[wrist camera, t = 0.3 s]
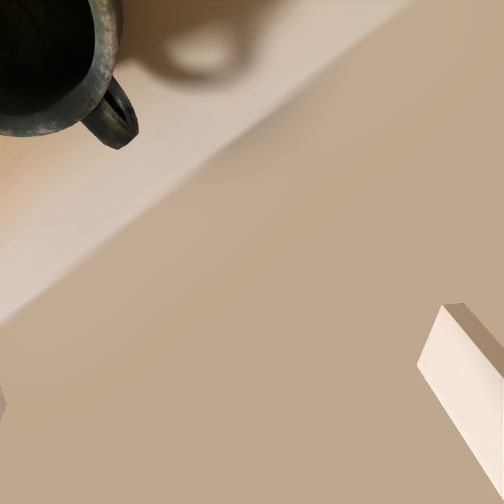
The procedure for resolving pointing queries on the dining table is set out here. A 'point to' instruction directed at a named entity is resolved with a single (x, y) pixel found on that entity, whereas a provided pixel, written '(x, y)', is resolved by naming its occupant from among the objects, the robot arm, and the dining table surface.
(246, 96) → the dining table surface
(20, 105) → the mug
